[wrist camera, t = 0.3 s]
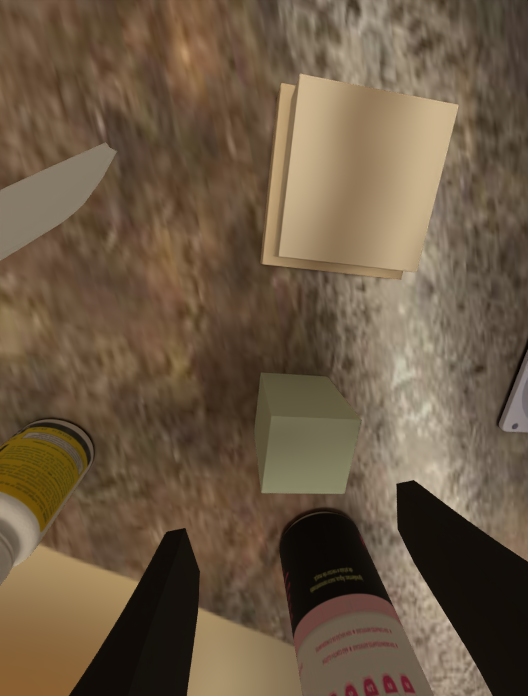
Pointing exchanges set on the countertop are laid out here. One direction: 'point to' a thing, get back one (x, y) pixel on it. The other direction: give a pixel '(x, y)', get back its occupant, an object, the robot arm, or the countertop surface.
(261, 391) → the green block
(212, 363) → the countertop surface
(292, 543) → the beverage can
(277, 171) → the tower base
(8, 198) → the chef's knife
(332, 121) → the tan square tile
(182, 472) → the countertop surface
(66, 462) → the supplement bottle
